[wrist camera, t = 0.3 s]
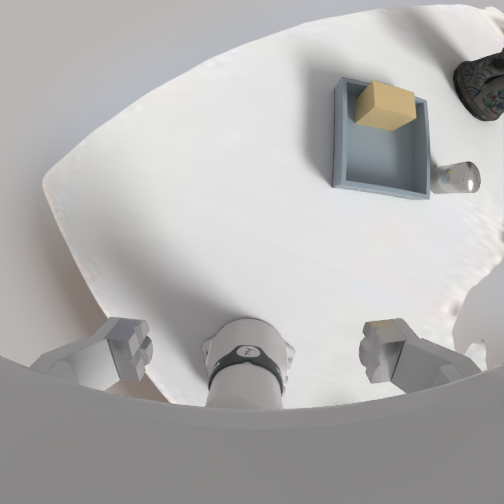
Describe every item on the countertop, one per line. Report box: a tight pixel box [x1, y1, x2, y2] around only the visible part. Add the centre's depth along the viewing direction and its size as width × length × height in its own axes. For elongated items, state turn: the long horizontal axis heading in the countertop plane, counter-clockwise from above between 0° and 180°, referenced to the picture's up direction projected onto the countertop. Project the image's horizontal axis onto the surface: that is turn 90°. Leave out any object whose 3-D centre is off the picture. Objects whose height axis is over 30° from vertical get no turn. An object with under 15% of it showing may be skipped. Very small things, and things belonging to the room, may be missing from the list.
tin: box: [430, 162, 481, 194], centre depth 42 cm, size 6×6×12 cm
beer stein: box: [453, 48, 504, 121], centre depth 31 cm, size 16×19×25 cm
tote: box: [332, 77, 430, 200], centre depth 44 cm, size 20×18×6 cm
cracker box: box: [355, 81, 416, 131], centre depth 40 cm, size 5×8×10 cm, turn 86°
